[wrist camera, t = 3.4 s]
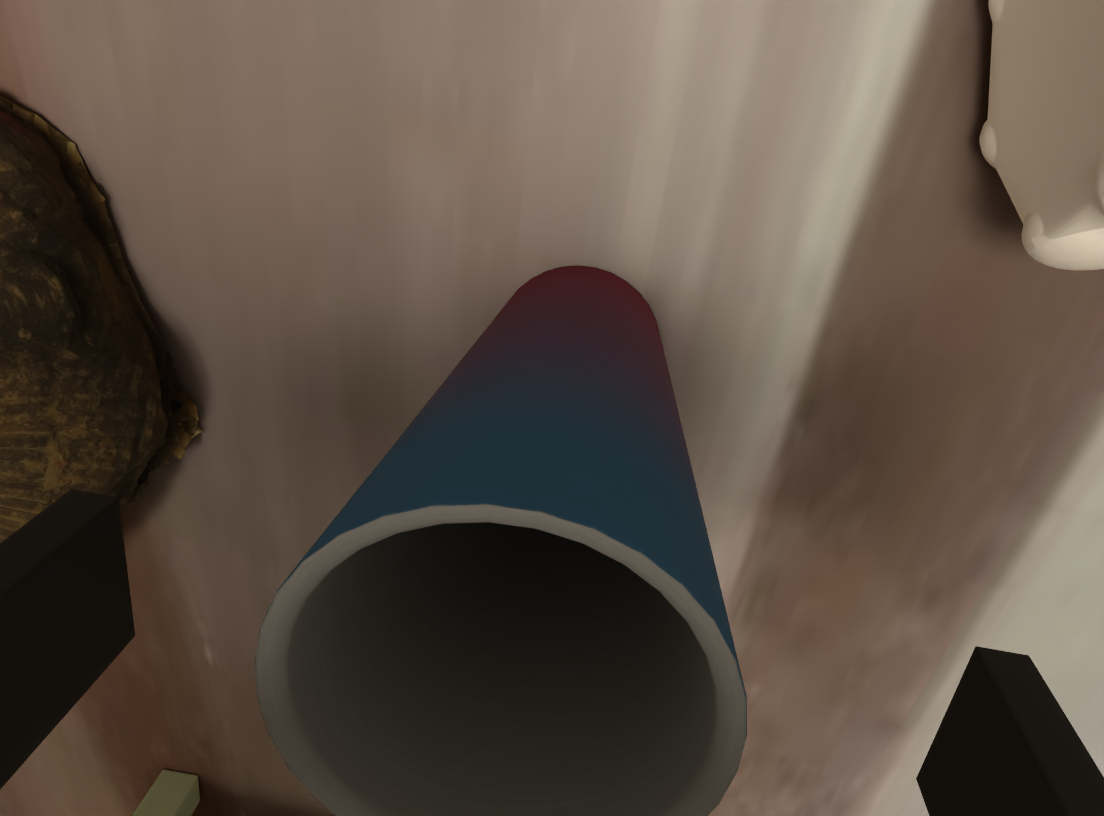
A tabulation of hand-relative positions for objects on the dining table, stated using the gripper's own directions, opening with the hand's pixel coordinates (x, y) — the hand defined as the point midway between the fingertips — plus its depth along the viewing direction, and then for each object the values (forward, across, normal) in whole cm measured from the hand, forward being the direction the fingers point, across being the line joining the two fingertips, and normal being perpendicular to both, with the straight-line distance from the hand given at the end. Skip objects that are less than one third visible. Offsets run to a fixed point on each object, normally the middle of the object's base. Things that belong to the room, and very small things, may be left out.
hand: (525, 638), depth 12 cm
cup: (+14, 0, 0) cm, 14 cm away
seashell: (+13, -17, -2) cm, 22 cm away
